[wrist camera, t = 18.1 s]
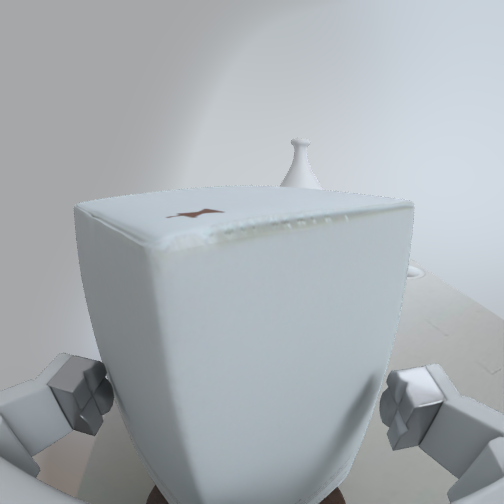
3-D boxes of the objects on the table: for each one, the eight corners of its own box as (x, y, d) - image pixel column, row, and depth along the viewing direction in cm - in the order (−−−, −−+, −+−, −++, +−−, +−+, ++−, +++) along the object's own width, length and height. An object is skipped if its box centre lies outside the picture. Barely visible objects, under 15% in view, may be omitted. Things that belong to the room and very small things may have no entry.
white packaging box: (350, 477, 10) (427, 199, 7) (225, 569, 6) (129, 234, 2) (252, 407, 16) (252, 181, 12) (138, 459, 11) (68, 197, 8)
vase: (272, 222, 91) (272, 141, 84) (328, 224, 88) (330, 142, 81) (264, 235, 75) (264, 135, 68) (333, 237, 72) (335, 136, 65)
